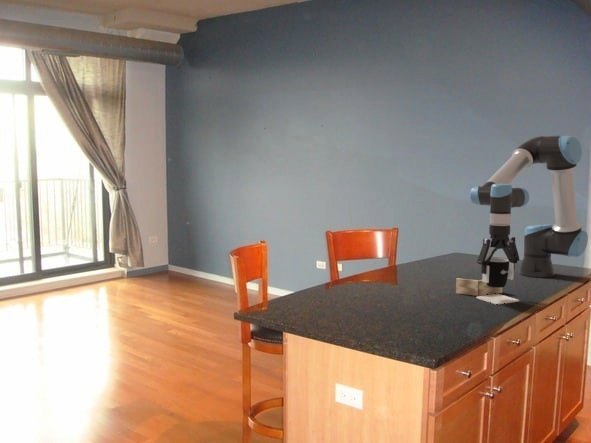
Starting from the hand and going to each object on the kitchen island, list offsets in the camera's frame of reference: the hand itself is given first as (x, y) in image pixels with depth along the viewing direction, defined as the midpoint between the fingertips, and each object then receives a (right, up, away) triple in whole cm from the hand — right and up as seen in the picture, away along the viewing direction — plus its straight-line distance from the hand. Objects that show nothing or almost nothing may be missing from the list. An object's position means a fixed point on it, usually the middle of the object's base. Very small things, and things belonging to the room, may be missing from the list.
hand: (497, 280), depth 220 cm
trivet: (0, -7, +1) cm, 7 cm away
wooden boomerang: (-4, -6, +12) cm, 14 cm away
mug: (0, -2, 0) cm, 2 cm away
